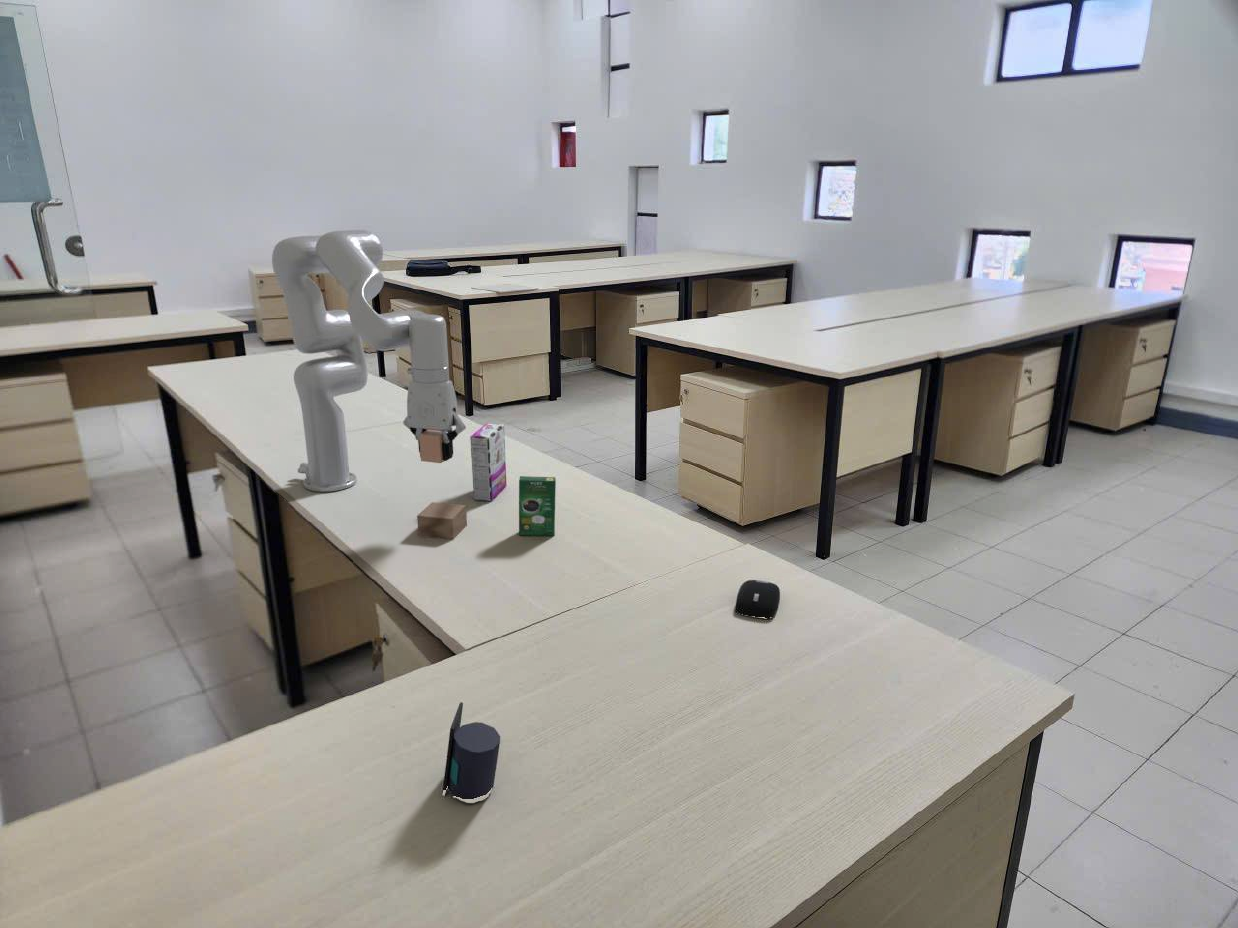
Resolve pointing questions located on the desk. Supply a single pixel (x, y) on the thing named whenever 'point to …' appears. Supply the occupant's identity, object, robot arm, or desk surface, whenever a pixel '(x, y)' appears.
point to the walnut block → (442, 520)
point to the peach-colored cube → (431, 446)
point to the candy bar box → (488, 461)
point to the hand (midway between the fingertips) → (436, 456)
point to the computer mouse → (758, 599)
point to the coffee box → (537, 506)
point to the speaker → (471, 758)
